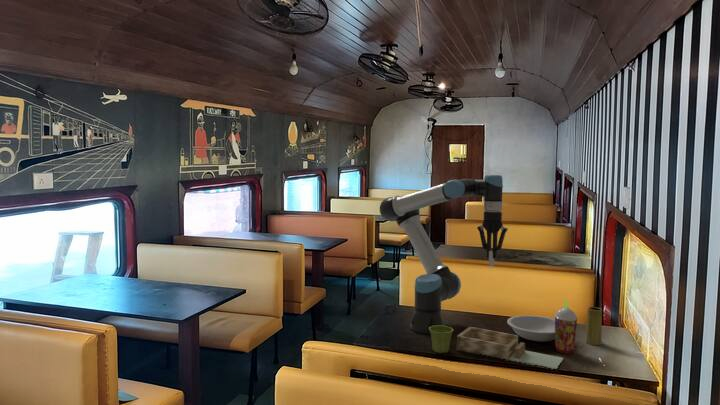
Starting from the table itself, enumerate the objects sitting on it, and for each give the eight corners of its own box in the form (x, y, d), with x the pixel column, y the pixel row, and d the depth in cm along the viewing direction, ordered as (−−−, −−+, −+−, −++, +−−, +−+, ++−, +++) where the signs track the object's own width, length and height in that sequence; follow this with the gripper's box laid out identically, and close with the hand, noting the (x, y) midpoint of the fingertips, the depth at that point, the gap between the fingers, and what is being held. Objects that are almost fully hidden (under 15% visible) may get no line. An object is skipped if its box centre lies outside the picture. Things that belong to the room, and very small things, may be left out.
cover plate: (508, 361, 194) (508, 349, 194) (517, 351, 204) (517, 339, 204) (556, 371, 185) (556, 358, 185) (563, 360, 195) (563, 348, 195)
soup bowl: (572, 351, 204) (573, 334, 204) (509, 346, 209) (509, 330, 208) (561, 331, 228) (561, 316, 227) (504, 328, 232) (505, 313, 232)
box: (456, 349, 204) (456, 335, 204) (469, 339, 216) (469, 326, 216) (507, 360, 194) (507, 345, 193) (517, 349, 205) (518, 335, 205)
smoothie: (549, 347, 207) (551, 298, 206) (569, 347, 208) (571, 298, 207) (559, 355, 199) (561, 304, 198) (580, 354, 200) (582, 303, 198)
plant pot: (434, 344, 210) (434, 323, 210) (456, 349, 205) (456, 327, 205) (424, 351, 202) (425, 330, 201) (447, 356, 197) (448, 334, 197)
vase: (600, 341, 216) (602, 307, 214) (602, 346, 210) (604, 311, 209) (584, 339, 218) (586, 306, 216) (586, 344, 212) (587, 309, 211)
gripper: (475, 210, 222) (473, 265, 224) (505, 212, 215) (503, 268, 217) (481, 209, 229) (479, 262, 230) (510, 211, 222) (509, 265, 223)
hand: (491, 265), depth 224 cm, fingers closed
